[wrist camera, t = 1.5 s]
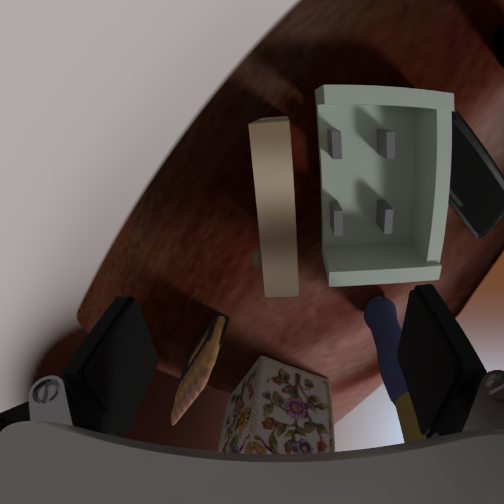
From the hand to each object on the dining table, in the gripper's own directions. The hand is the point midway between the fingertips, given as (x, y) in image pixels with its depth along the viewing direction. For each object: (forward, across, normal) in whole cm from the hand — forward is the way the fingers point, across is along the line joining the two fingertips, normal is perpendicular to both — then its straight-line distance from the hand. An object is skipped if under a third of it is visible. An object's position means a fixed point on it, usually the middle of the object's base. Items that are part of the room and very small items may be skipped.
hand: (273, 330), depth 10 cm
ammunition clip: (+23, +11, +21) cm, 33 cm away
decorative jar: (+23, +2, +31) cm, 39 cm away
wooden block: (+23, 0, 0) cm, 23 cm away
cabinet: (+23, -9, 0) cm, 25 cm away
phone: (+23, -21, 0) cm, 31 cm away
